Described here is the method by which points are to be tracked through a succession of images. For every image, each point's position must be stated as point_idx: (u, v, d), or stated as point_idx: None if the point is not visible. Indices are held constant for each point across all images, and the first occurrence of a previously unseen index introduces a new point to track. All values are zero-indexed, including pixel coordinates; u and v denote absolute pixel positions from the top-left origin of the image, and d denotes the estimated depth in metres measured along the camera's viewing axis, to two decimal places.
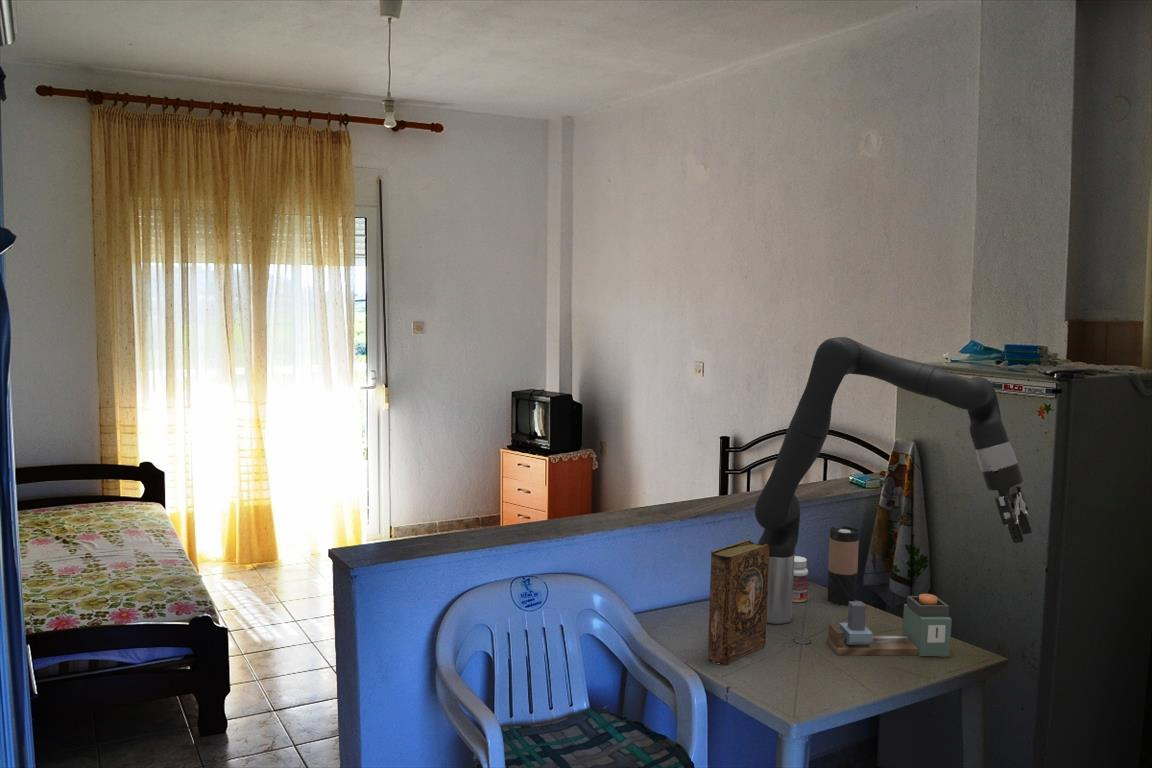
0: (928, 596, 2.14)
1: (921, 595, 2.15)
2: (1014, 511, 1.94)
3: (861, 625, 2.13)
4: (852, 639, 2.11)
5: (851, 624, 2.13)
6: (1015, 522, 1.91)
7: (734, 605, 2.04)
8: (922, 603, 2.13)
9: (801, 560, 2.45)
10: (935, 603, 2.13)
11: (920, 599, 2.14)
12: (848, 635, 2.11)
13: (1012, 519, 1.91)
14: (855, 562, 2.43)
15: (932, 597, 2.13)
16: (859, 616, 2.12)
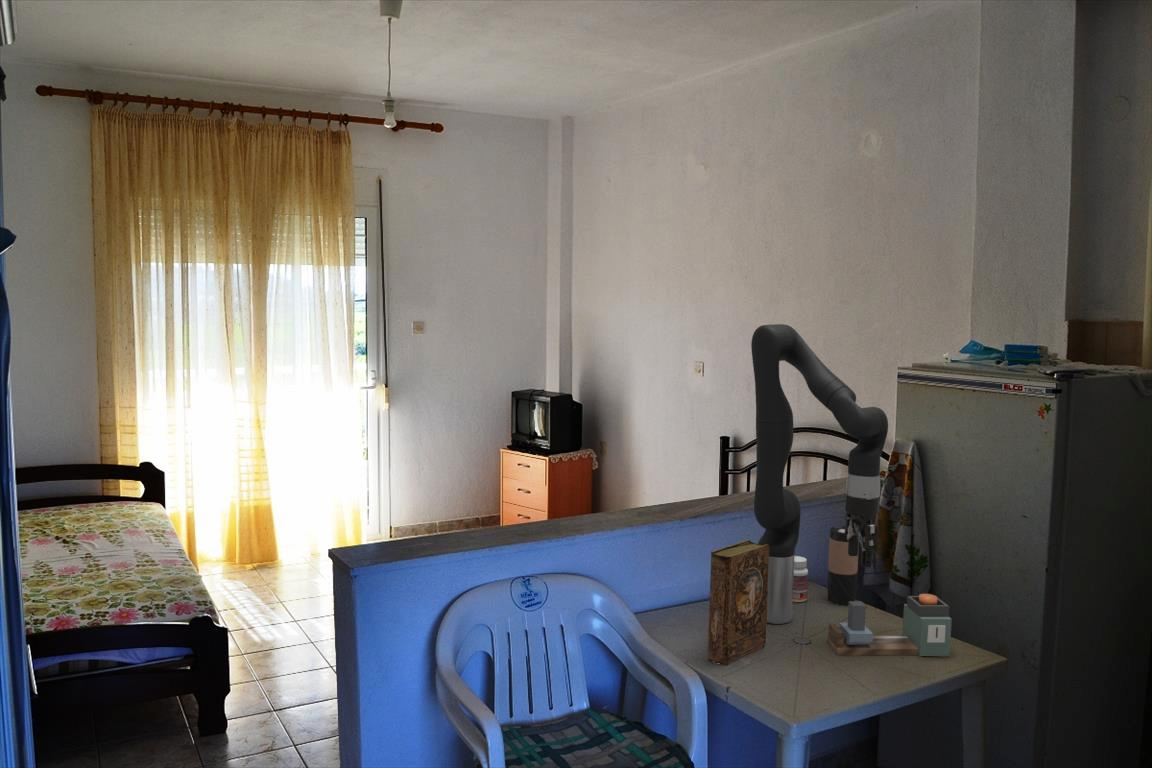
0: (928, 596, 2.14)
1: (921, 595, 2.15)
2: None
3: (861, 625, 2.13)
4: (852, 639, 2.11)
5: (851, 624, 2.13)
6: None
7: (734, 605, 2.04)
8: (922, 603, 2.13)
9: (801, 560, 2.45)
10: (935, 603, 2.13)
11: (920, 599, 2.14)
12: (848, 635, 2.11)
13: (876, 547, 2.05)
14: (855, 562, 2.43)
15: (932, 597, 2.13)
16: (859, 616, 2.12)
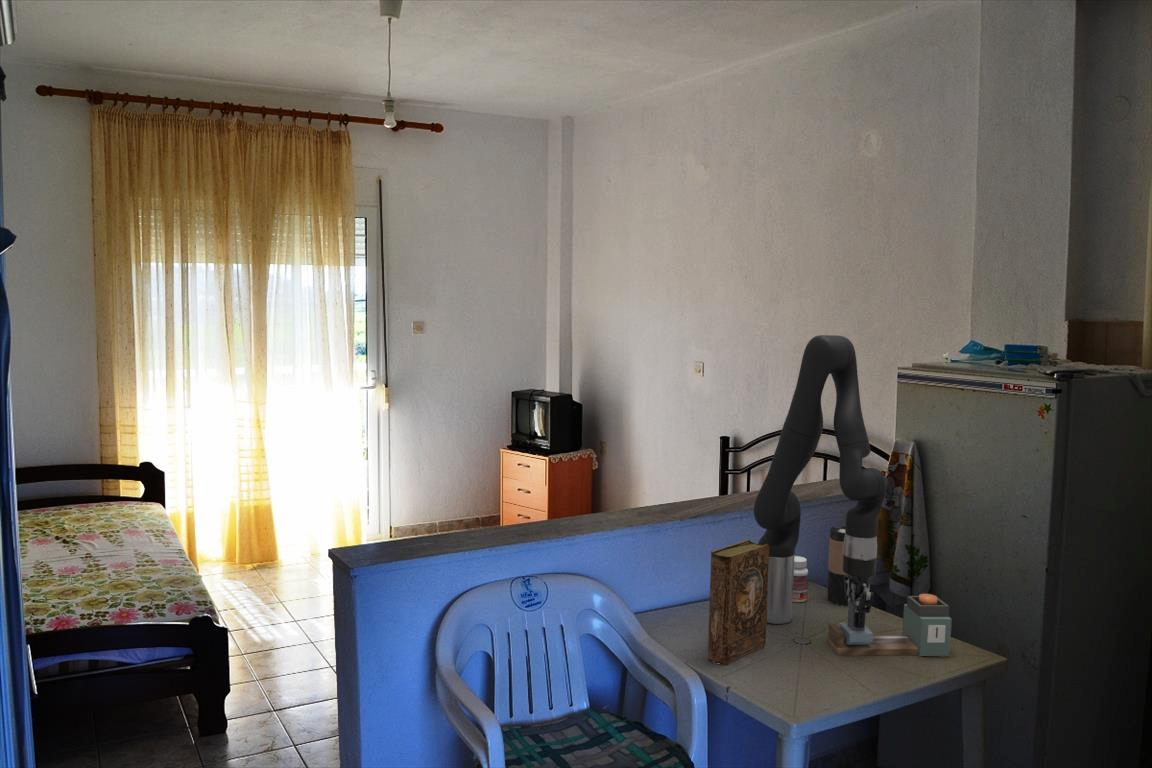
0: (928, 596, 2.14)
1: (921, 595, 2.15)
2: None
3: None
4: (852, 639, 2.11)
5: (851, 624, 2.13)
6: None
7: (734, 605, 2.04)
8: (922, 603, 2.13)
9: (801, 560, 2.45)
10: (935, 603, 2.13)
11: (920, 599, 2.14)
12: (848, 635, 2.11)
13: (868, 609, 2.09)
14: None
15: (932, 597, 2.13)
16: None
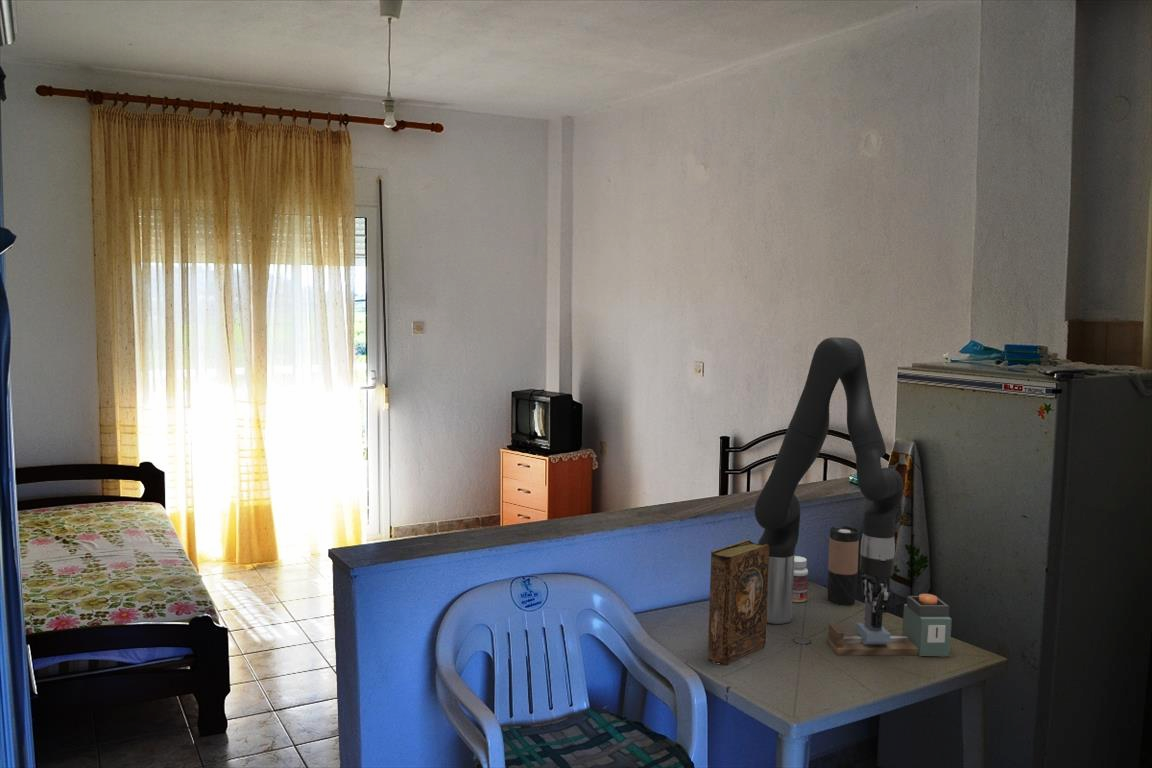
0: (928, 596, 2.14)
1: (921, 595, 2.15)
2: None
3: None
4: (869, 639, 2.11)
5: (868, 624, 2.13)
6: None
7: (734, 605, 2.04)
8: (922, 603, 2.13)
9: (801, 560, 2.45)
10: (935, 603, 2.13)
11: (920, 599, 2.14)
12: (865, 635, 2.12)
13: (886, 609, 2.09)
14: (855, 562, 2.43)
15: (932, 597, 2.13)
16: None
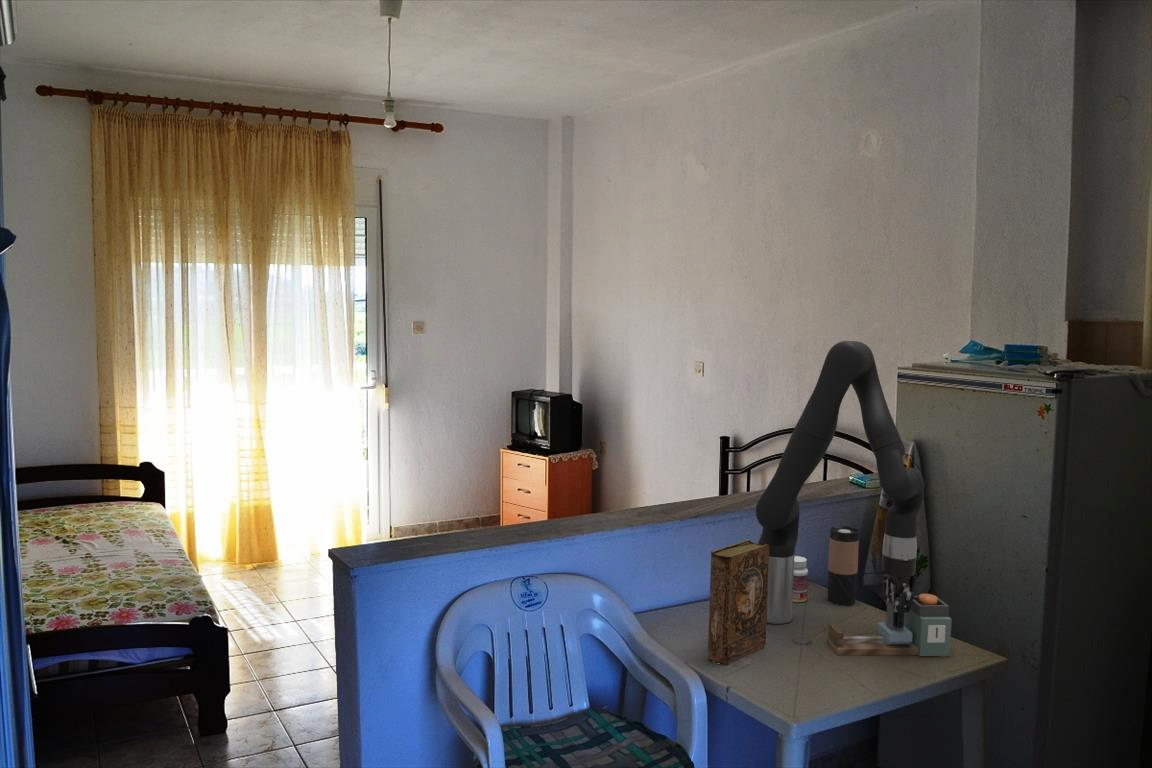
0: (928, 596, 2.14)
1: (921, 595, 2.15)
2: None
3: None
4: (892, 639, 2.11)
5: (890, 624, 2.14)
6: None
7: (734, 605, 2.04)
8: (922, 603, 2.13)
9: (801, 560, 2.45)
10: (935, 603, 2.13)
11: (920, 599, 2.14)
12: (888, 635, 2.12)
13: (908, 609, 2.09)
14: (855, 562, 2.43)
15: (932, 597, 2.13)
16: None
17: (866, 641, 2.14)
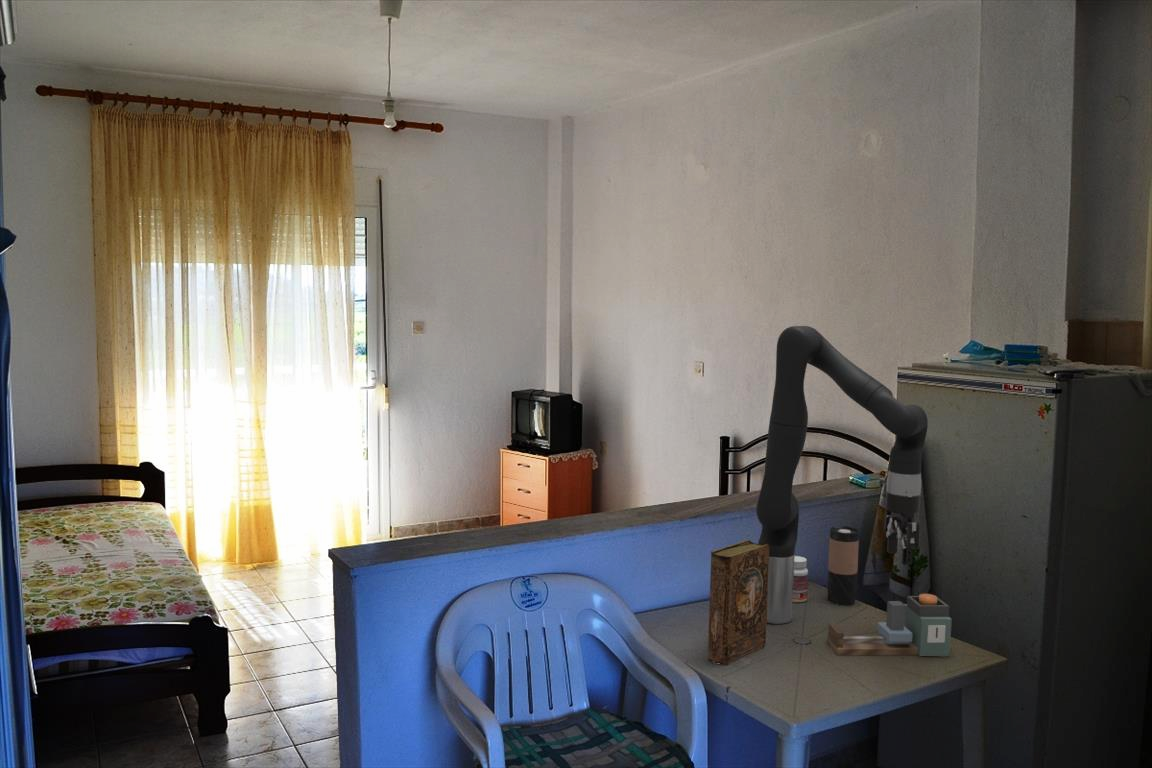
0: (928, 596, 2.14)
1: (921, 595, 2.15)
2: None
3: (900, 625, 2.13)
4: (892, 639, 2.11)
5: (890, 624, 2.14)
6: (917, 548, 2.06)
7: (734, 605, 2.04)
8: (922, 603, 2.13)
9: (801, 560, 2.45)
10: (935, 603, 2.13)
11: (920, 599, 2.14)
12: (888, 635, 2.12)
13: (917, 545, 2.05)
14: (855, 562, 2.43)
15: (932, 597, 2.13)
16: (898, 615, 2.13)
17: (866, 641, 2.14)
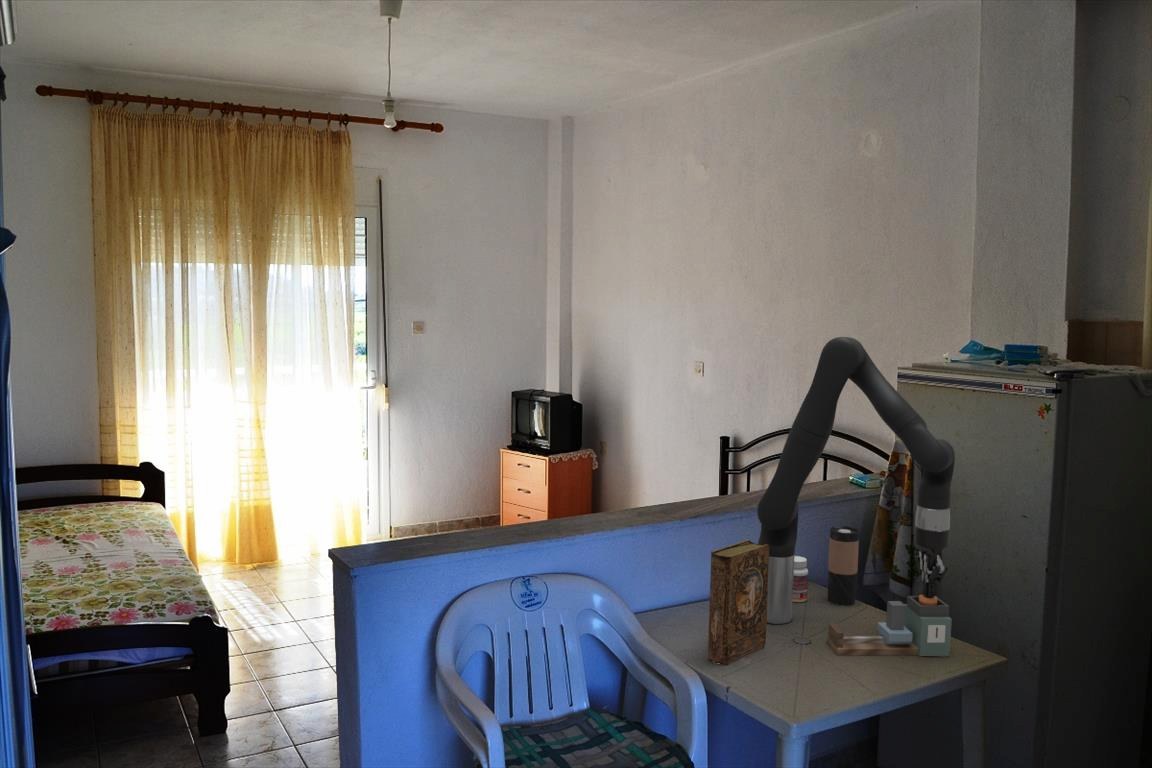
0: None
1: (921, 596, 2.15)
2: None
3: (900, 625, 2.13)
4: (892, 639, 2.11)
5: (890, 624, 2.14)
6: None
7: (734, 605, 2.04)
8: (922, 604, 2.13)
9: (801, 560, 2.45)
10: (935, 604, 2.13)
11: (920, 600, 2.14)
12: (888, 635, 2.12)
13: (939, 579, 2.11)
14: (855, 562, 2.43)
15: (932, 598, 2.14)
16: (898, 615, 2.13)
17: (866, 641, 2.14)
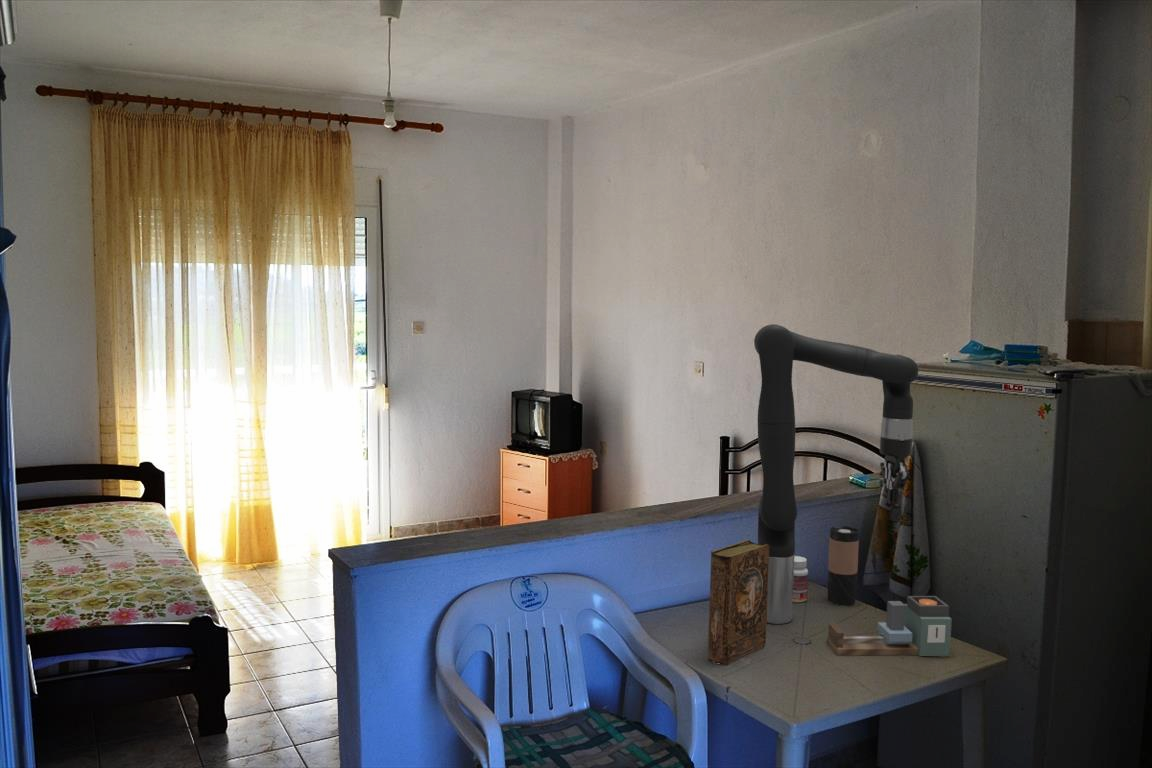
0: (928, 601, 2.14)
1: (921, 600, 2.15)
2: None
3: (900, 625, 2.13)
4: (892, 639, 2.11)
5: (890, 624, 2.14)
6: None
7: (734, 605, 2.04)
8: None
9: (801, 560, 2.45)
10: None
11: None
12: (888, 635, 2.12)
13: (902, 485, 2.24)
14: (855, 562, 2.43)
15: (932, 602, 2.14)
16: (898, 615, 2.13)
17: (866, 641, 2.14)
